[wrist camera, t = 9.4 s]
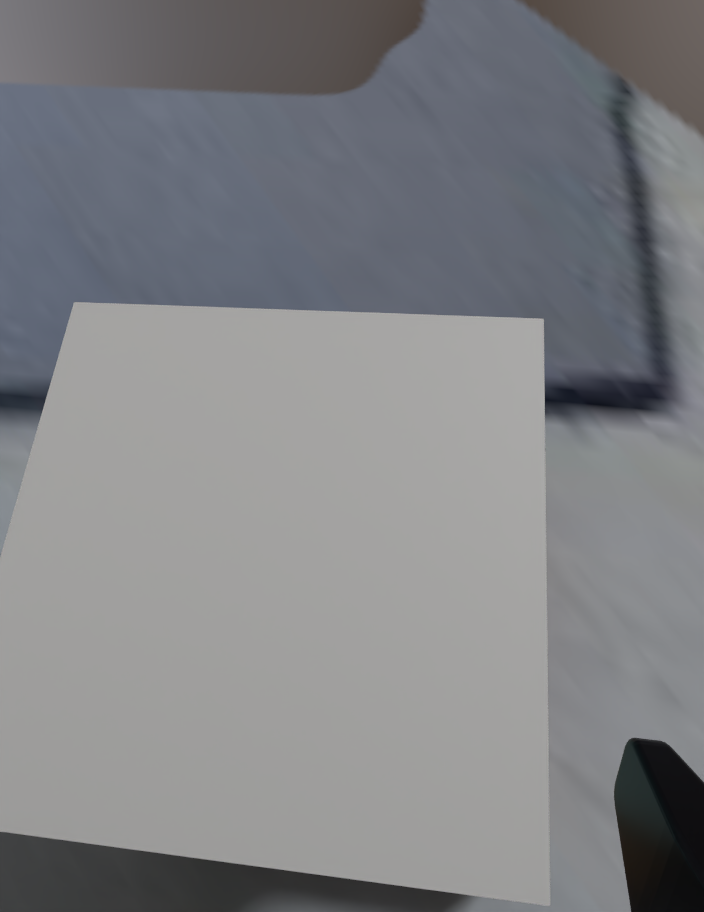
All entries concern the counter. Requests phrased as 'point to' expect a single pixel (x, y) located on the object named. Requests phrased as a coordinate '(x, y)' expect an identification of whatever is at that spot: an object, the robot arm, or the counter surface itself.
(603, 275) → the counter surface
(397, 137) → the counter surface
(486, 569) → the tea tin
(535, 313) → the counter surface
